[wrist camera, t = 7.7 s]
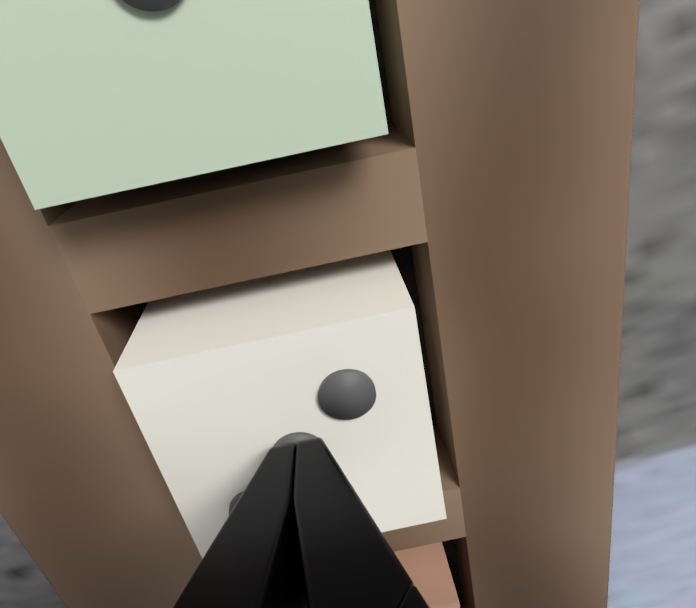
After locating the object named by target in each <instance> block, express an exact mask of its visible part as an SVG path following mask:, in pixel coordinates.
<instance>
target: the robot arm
mask: <svg viewBox="0 0 696 608" xmlns="http://www.w3.org/2000/svg"><path fill="white" fill-rule="evenodd" d="M173 608H429V606H428V604H427V603H426V601H425V600H424V598H423V597H422V595H421V593H420V592H419V590H418V589H417V587H416V586H414V584H413V581H412V580H411V578H410V577H409V575H408V573H407V572H406V570H405V569H404V567H403V566H402V564H401V562H400V561H399V559H398V558H397V556H396V554H395V553H394V551H393V550H392V548H391V547H390V545H389V543H388V542H387V540H386V539H385V537H384V535H383V534H382V532H381V531H380V529H379V528H378V526H377V524H376V523H375V521H374V520H373V518H372V517H371V515H370V513H369V512H368V510H367V509H366V507H365V505H364V504H363V502H362V501H361V499H360V498H359V496H358V494H357V493H356V491H355V490H354V488H353V486H352V485H351V483H350V482H349V480H348V479H347V477H346V475H345V474H344V472H343V471H342V469H341V467H340V466H339V464H338V463H337V461H336V460H335V458H334V456H333V455H332V453H331V452H330V450H329V448H328V447H327V445H326V444H325V442H324V441H323V439H322V438H320V437H316V438H312V439H307V440H302V441H299V442H298V443H297V445H296V444H294V443H288V444H283V445H278V446H274V447H272V448H270V449H269V451H268V452H267V454H266V455H265V457H264V459H263V460H262V462H261V464H260V465H259V467H258V469H257V470H256V472H255V473H254V475H253V477H252V478H251V480H250V482H249V483H248V485H247V487H246V488H245V490H244V492H243V493H242V495H241V496H240V498H239V500H238V501H237V503H236V505H235V506H234V508H233V510H232V511H231V513H230V515H229V516H228V518H227V519H226V521H225V523H224V524H223V526H222V528H221V529H220V531H219V533H218V534H217V536H216V538H215V539H214V541H213V542H212V544H211V546H210V547H209V549H208V551H207V552H206V554H205V556H204V557H203V559H202V561H201V562H200V564H199V565H198V567H197V569H196V570H195V572H194V574H193V575H192V577H191V579H190V580H189V582H188V584H187V585H186V587H185V588H184V590H183V592H182V593H181V595H180V597H179V598H178V600H177V602H176V603H175V605H174V606H173Z"/></svg>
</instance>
